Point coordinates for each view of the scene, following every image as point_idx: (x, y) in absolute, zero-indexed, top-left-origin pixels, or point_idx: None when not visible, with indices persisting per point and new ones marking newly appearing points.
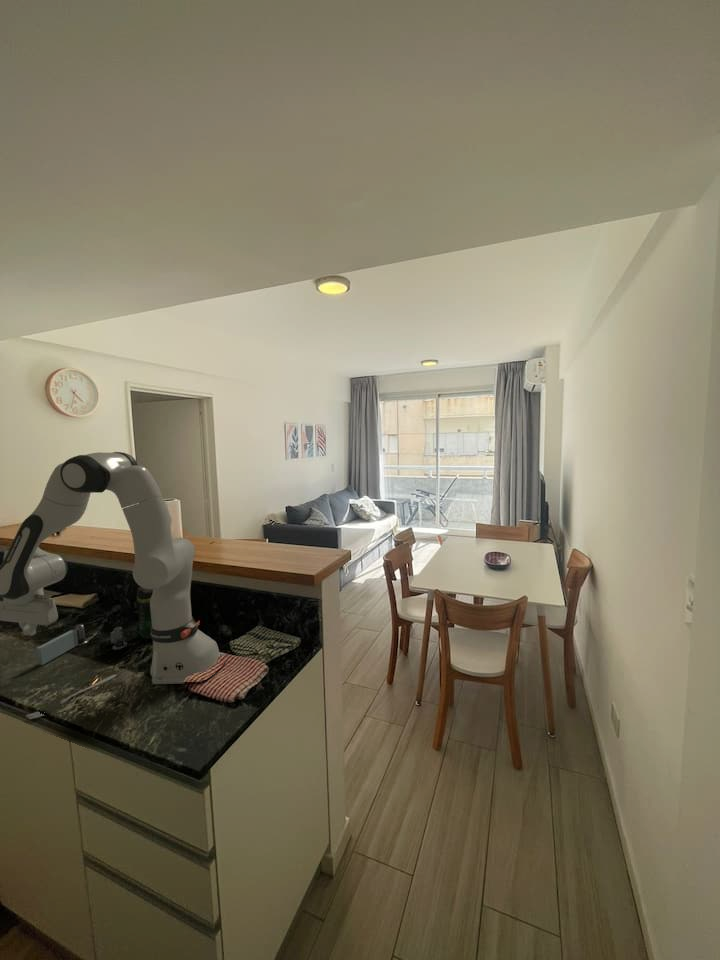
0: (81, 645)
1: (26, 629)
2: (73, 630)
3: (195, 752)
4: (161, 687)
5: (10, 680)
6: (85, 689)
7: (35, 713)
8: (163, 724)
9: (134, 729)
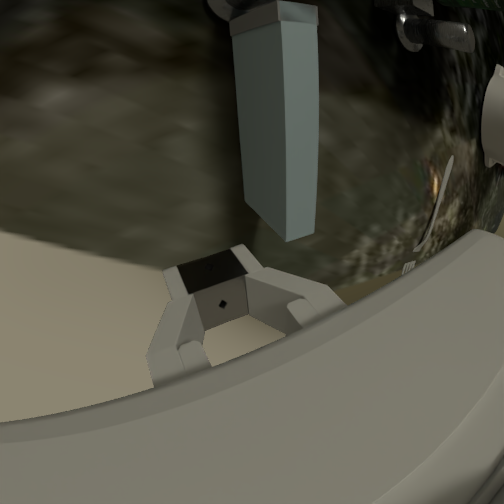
0: None
1: (200, 320)
2: (306, 14)
3: (497, 224)
4: None
5: None
6: (435, 214)
7: None
8: (489, 214)
9: None
